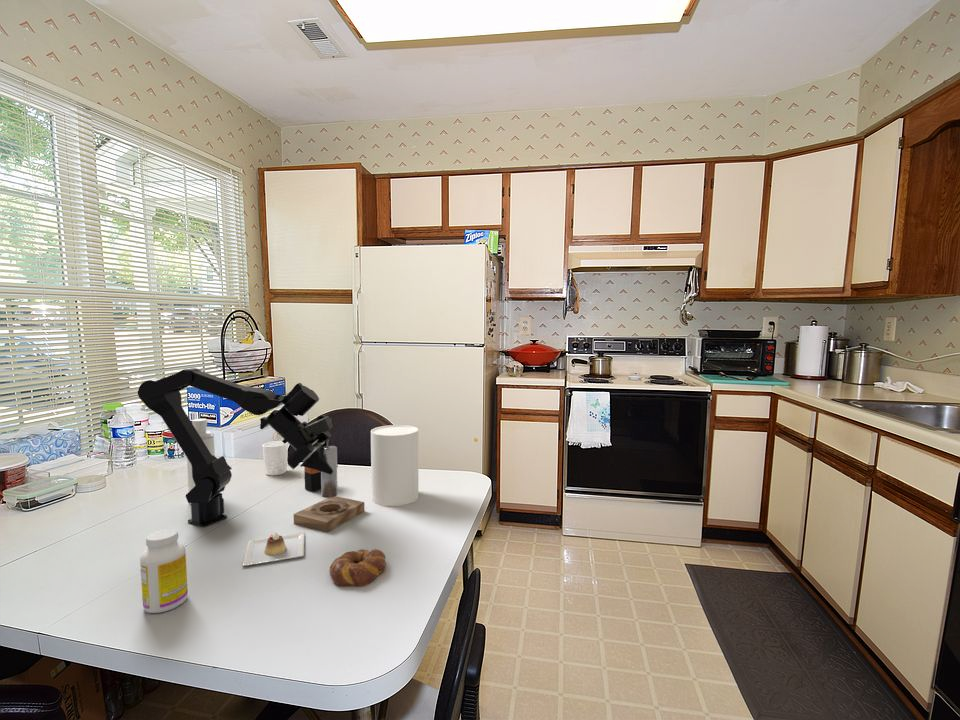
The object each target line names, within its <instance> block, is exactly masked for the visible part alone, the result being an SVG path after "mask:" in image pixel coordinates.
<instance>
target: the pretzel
mask: <svg viewBox="0 0 960 720" xmlns="http://www.w3.org/2000/svg"><path fill="white" fill-rule="evenodd" d="M332 561H333V562H331V564H330V567H329V575H330V578H331V580H332V582H334V583H335V584H337V585H338V586H339V587H340V586H341V587H348V586H350V587H351V586H355V587H356V586H357V587H364V586H367V585H369V584H371V583H372V582H373V581H374V580H375V578H376V577H379V576H380V574H382V573H383V572H384V571H385V570H386V567H387V565H386V564H387V562H386V555H385V553H384V552H383V550H380V549H375V548H374V549H371V550H368V549H364V548H363V549H359V550H357V551H354V550H353V551H352V550H351V551H346V552H345V553H343V554H342V555H340V556H338V557H336V558H335V559H334V560H332Z"/></svg>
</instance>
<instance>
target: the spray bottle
mask: <svg viewBox="0 0 960 720" xmlns="http://www.w3.org/2000/svg"><path fill="white" fill-rule="evenodd" d="M191 423H192V424H193V426H194V427H195V429H196V431H197V432H198V434H199V435H200V437H201V439H202V440H203V442H204V444H205V445H206V447H207V448H208V450H209V452H210V453H211V454H212V455H213V456H215V455H216V454H215V437H214V434H213V433H212V432H211V431H207V426H208V419H207V418H197V419H192V421H191ZM215 457H216V456H215ZM186 466H187V469H186V470H187V488H188V492H189V491H190V490H191V489H193V488H194V487H195V483H194V481H193V478H192V465H191V463H190V462H189V460H188V458H187V457H186ZM188 492H187V493H188ZM189 505H191V503H189Z"/></svg>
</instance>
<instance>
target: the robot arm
mask: <svg viewBox="0 0 960 720" xmlns="http://www.w3.org/2000/svg"><path fill="white" fill-rule="evenodd" d="M189 387H192V388H195V389H197V390H201V391H204V392H206V393H209V394H212V395H215V396H218V397H220V398H223V399H226V400H229V401H232V402H234V403H235V404H237V405H238V406H239V407H240V408H241V409H242V410H245V411H246V412H248V413H249V414H251V415H254V416H261V415H264V414H266V413H268V412H270V411H271V412H270V413H269V414H268V415H267V416H263V417H261V418H260V419H259V421H260V425H259V429H260V430H263V429H265V428H268V427H269V426H270V427H271V428H272V429H273V430H274V431H275V432H276V433H277V434H278V435H279V436H280V437H281V438H283V439H282V440H281V441H282V442H283V443H284V444H285V443H287V442H288V445H289V446H291V448H293V449H294V450H295V451H294V452H293V453H292V454H291V455H290V456H288V458H287V466H289V467H290V468H291V469H292V470H295V469H296V468H297V467H298V466H300V467H301V468H302V467H307V468H311V469H315V470H318V471H321V472H324V473H327V474H332V473H333V470H332V468H331V467H330V466H329V464H328V463H327V462H326V461H325V459H324V458H323V457H322V456H321V448H322V447H325V446H329V443H330V439H328V438H329V437H331V436H332V433H331V432H330V431H331V428H333V427H334V426H333V424H332V420H333V419H332V418H331V417H330V416H329V415H326V414H325V413H322V414H320V415H317V416H316V421H314V422H312V423H310V424H309V423H308V422H307V421H303V422H301V420H299V419H298V416H300V417H303V416H304V415H306V414H307V413H308V412H309V411H310V410H311V409H312V408H313V407H314V406H315V405H316V404H317V403H318V402H319V401H320V398H319V396H318V394H317V393H316V392H315V391H314V390H313V389H311V388H309V387H307V386H306V385H303V383H301V382H298V383H296V384H295V385H294V386H293V387H292V389H291V390H290V391H289V392H288V393H287V394H285V395H284V394H277V393H276V392H275V391H273V390H271V389H268V388H263V387H253V386H245V385H242V384H239V383H236V382H233V381H230V380H227V379H225V378H221V377H219V376H216V375H214V374H210V373H208V372H206V371H205V372H204V371H202V370H200V369H199V368H196V367H191V368H184V369H182V370H180V371H179V372H176V373H173V374H171V375H168V376H166V377H160V378H159V377H158V378H155V379H150V380H149V379H148V380H146V381H143V382H141V384H140V386H139V387H138V390H137V397H138V398H139V400H140V401H141V402H142V403H143V404H144V405H145V406H146V407H147V409H148V410H150V411H152V412H154V413H155V414H156V415H158V416H160V417H161V419H162V420H163V422H164V423H165V425H166V427H167V428H168V430H169V431H170V433H171V435H172V436H173V438H174V439H175V441H176V442H177V444H178V446H179V447H180V449H181V450H182V452H183V454H184V455H185V457H186V459H187V458H188V460H189V462H190V463H191V465H192V478H193V481H194V483H195V487H194V488H193V489H191V490H190V491H189V492H187V493H186V494H185V499H186V501H187V503H189V504H190V503H191V504H190V507H191V508H190V510H191V511H190V512H191V513H190V514H191V518H189V519H188V520H187V523H188V524H193V525H195V526H198V527H208V526H209V525H211V524H214V523H216V522H219V521H221V520H224V519H227V518H228V516H227V515H226V514H225V499H224V497H223V493H221V492H224V491H225V488H226V487H227V485H229V483H230V482H231V479H232V476H233V475H232V472H231V470H233V469H232V466H230V465H229V464H228V462H227V460H226V458H225V457H224V456H223V455H222V456H220V457H218V458H217V457H216V456H213V455H212V454H211V453H210V452H209V450H208V448H207V447H206V445H205V444H204V442H203V440H202V439H201V437H200V435H199V434H198V432H197V431H196V429H195V427H194V426H193V424H192V421H191V419H190V418H189V416H188V414H187V413H186V411H185V409H184V408H183V404H182V394H181V391H182V390H185V389H186V388H189ZM282 405H283V406H282ZM281 406H282V407H281ZM279 407H281V408H280V409H277V408H279ZM301 463H302V464H301ZM338 465H339V464H337V468H338Z"/></svg>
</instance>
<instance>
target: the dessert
mask: <svg viewBox="0 0 960 720" xmlns="http://www.w3.org/2000/svg"><path fill="white" fill-rule="evenodd" d="M292 539H298V541H297V542H298V543H297V544H298V545H297V555H295V556H289V557H283V558H276V559H271V560H264V561H257V562H252V563H250V562H251V560H252V555H253V551H254V547H255V545H257V544H264V543H266V545H265V548H264V551H263V553H264V555H267V556H276V555H280V554H282V553H284V552H285V551H286V550H287V546H286V544H285V541H286V540H292ZM244 553H245V554H244V556H243V559H242V562H241V563H242V564H241V566H242V567H249V566H254V565H262V564H267V563H268V564H269V563H274V562H281V561H287V560H291V559H292V560H293V559H299V558H301V557H302V558H303V557H304V556H305V532H304V531H303V532H297V533H291V534H284V535H279V534H278V533H277V532H274V534H270V535H269V537H262V538H259V539H258V538H255V539H250V540H248V542H247V546H246V549H245V552H244Z"/></svg>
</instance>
